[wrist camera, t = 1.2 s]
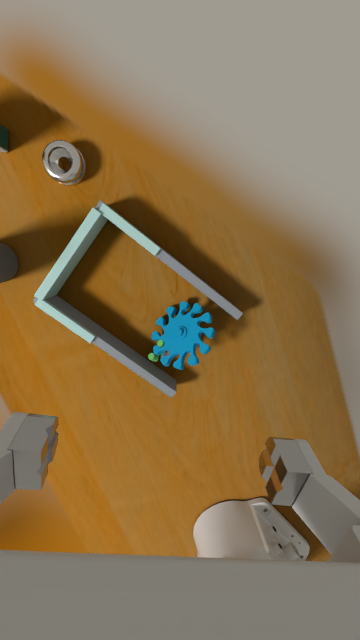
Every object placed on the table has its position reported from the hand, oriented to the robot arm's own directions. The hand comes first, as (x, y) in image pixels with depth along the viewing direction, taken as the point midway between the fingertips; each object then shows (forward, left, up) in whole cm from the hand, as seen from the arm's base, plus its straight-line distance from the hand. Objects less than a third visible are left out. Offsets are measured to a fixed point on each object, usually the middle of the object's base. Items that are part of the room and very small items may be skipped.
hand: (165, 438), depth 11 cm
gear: (-4, +4, -35) cm, 35 cm away
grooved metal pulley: (+22, -5, -35) cm, 41 cm away
